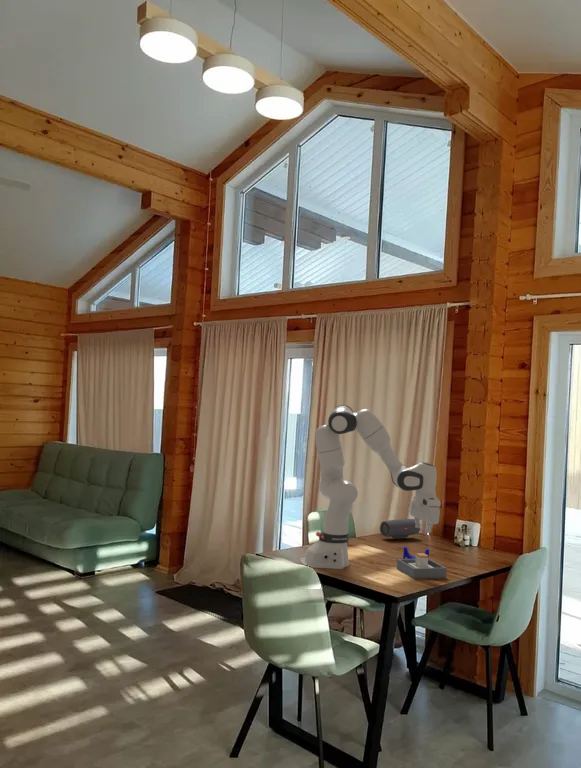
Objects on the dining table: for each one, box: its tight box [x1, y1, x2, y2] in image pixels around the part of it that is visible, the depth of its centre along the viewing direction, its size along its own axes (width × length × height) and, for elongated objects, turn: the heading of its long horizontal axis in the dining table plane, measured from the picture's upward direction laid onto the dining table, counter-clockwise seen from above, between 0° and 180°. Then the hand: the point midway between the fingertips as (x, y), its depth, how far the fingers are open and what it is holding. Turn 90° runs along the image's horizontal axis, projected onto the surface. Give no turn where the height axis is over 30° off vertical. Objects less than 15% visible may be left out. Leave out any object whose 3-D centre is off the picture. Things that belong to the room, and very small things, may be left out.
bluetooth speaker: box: [379, 518, 421, 539], centre depth 365 cm, size 23×9×10 cm, turn 121°
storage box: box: [396, 557, 448, 579], centre depth 290 cm, size 16×16×5 cm
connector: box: [415, 552, 428, 568], centre depth 290 cm, size 4×4×8 cm
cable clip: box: [402, 545, 430, 559], centre depth 315 cm, size 12×4×6 cm, turn 79°
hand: (422, 530), depth 290 cm, fingers open, 8 cm apart
